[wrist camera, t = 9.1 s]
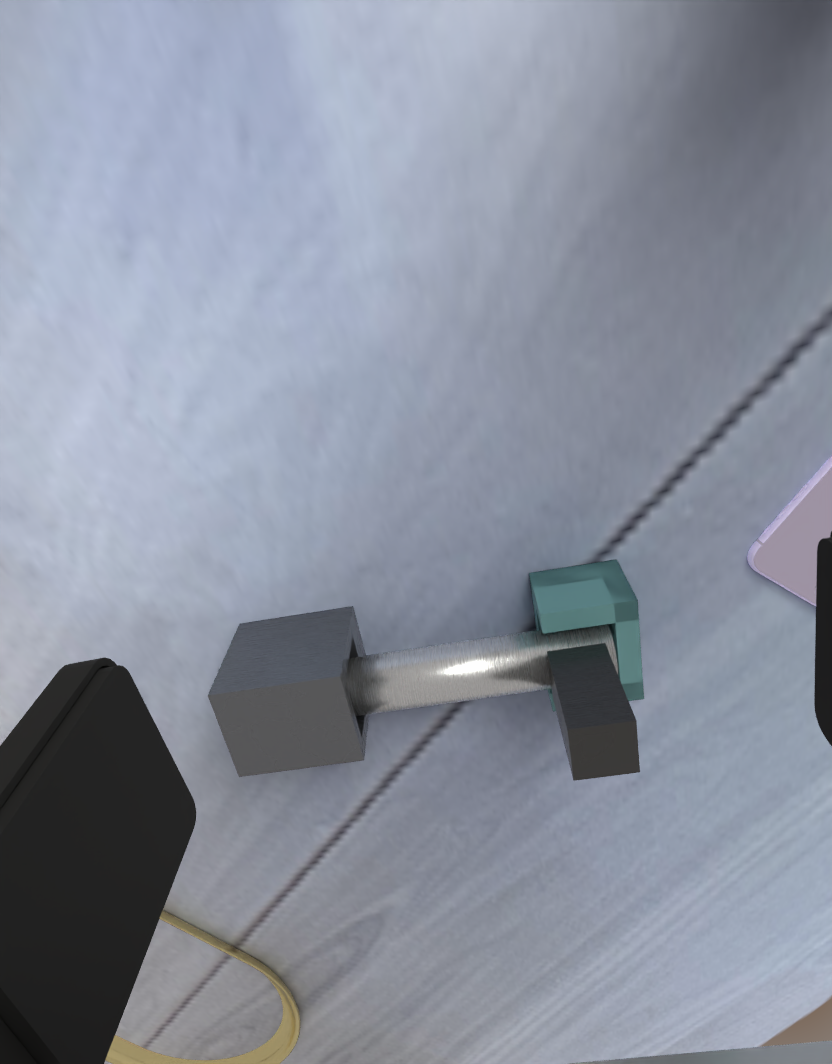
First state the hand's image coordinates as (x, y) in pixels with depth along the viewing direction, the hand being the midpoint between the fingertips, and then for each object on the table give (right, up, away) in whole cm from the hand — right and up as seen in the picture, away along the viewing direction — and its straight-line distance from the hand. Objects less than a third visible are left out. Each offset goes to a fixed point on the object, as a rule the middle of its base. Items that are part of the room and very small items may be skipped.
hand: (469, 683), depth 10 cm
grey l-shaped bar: (+1, -5, +31) cm, 31 cm away
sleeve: (-7, -5, +34) cm, 35 cm away
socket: (+9, -3, +32) cm, 34 cm away
